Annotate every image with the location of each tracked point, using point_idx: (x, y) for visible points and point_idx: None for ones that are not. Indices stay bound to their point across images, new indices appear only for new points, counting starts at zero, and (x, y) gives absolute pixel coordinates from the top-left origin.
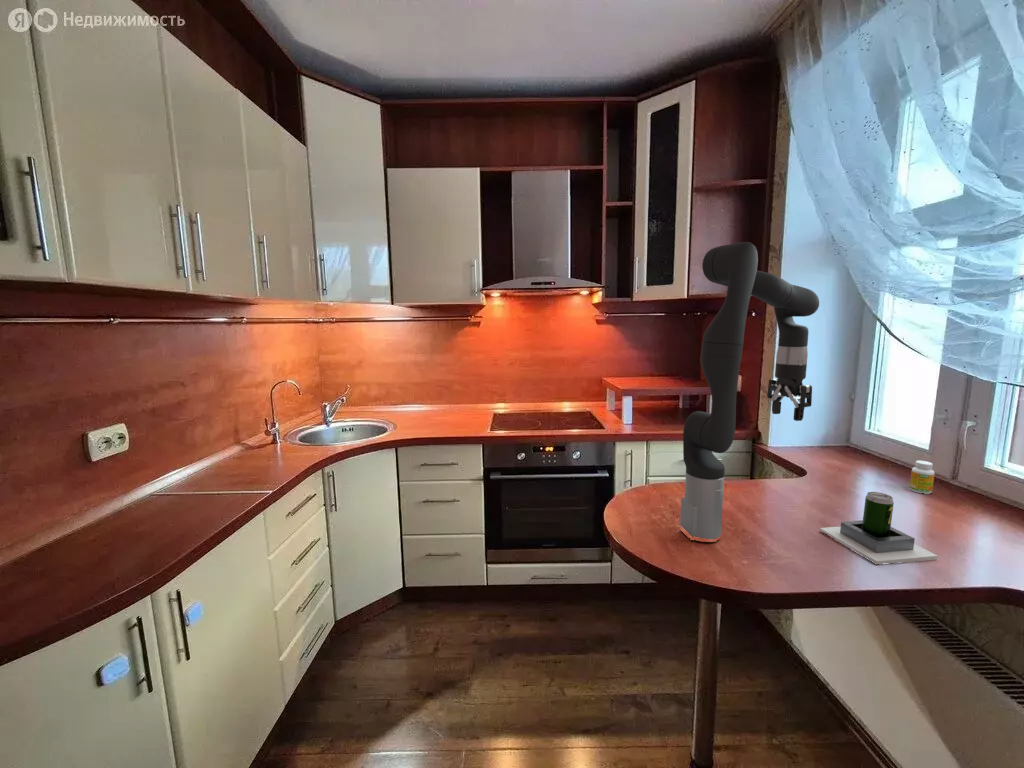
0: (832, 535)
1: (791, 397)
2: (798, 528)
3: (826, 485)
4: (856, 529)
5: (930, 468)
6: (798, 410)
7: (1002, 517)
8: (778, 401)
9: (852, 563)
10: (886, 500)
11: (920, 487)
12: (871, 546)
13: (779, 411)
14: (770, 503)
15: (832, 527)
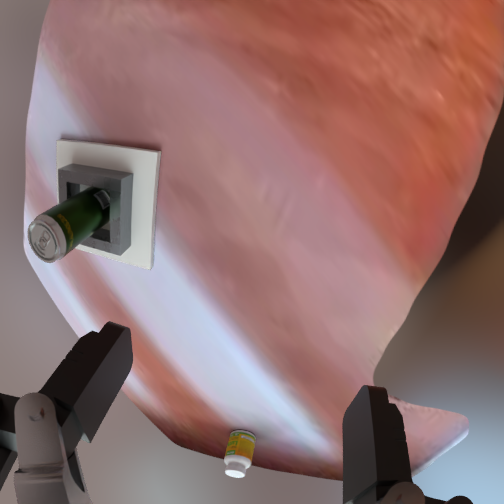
0: (129, 148)
1: (36, 496)
2: (184, 119)
3: (325, 370)
4: (92, 177)
5: (226, 466)
6: (57, 384)
7: (155, 418)
8: (359, 501)
9: (71, 106)
10: (28, 231)
11: (235, 437)
12: (74, 166)
13: (345, 427)
14: (314, 176)
15: (153, 180)
